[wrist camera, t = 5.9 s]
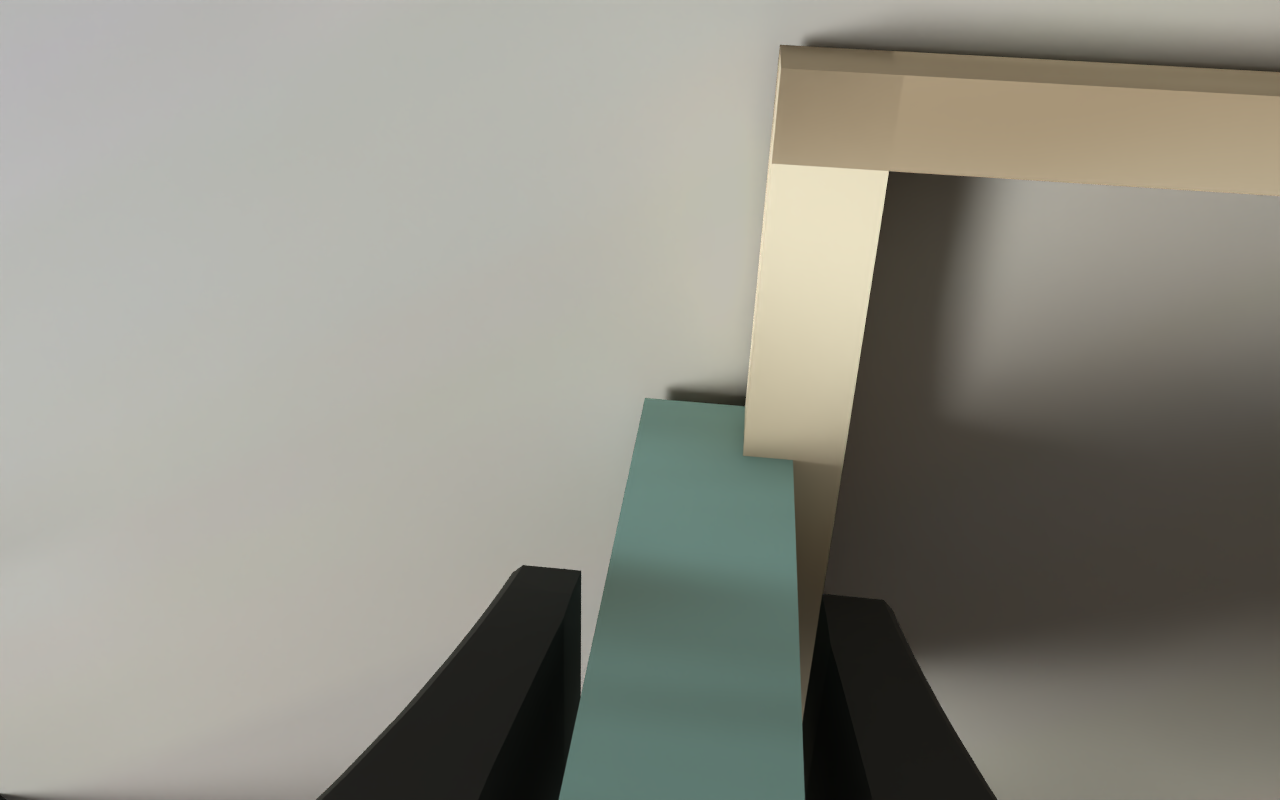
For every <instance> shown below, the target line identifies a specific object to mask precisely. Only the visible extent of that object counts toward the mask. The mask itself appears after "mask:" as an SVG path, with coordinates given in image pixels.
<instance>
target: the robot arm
mask: <svg viewBox="0 0 1280 800" xmlns="http://www.w3.org/2000/svg"><path fill="white" fill-rule="evenodd" d="M580 698H581V571H578V570H567V569H557V568H547V567H536V566H526V565H523V566H521V567H520V568H519V569H517V570H516V571H515V572H513V573H512V574H511V576H510V577H509V579H508V580H507V582H506V583H505V585H504V586H503V588H502V589H501V590H500V592H499V593H498V594H497V596H496V597H495V599H494V600H493V601H492V603H491V604H490V605H489V607H488V608H487V609H486V611H485V612H484V613H483V615H482V616H481V617H480V619H479V620H478V621H477V623H476V624H475V625H474V626H473V628H472V629H471V630H470V632H469V633H468V634H467V635H466V637H465V638H464V639H463V640H462V642H461V643H460V644H459V645H458V647H457V648H456V649H455V650H454V652H453V653H452V654H451V655H450V656H449V658H448V659H447V660H446V661H445V662H444V664H443V665H442V666H441V667H440V668H439V669H438V671H437V672H436V673H435V674H434V675H433V676H432V677H431V679H430V680H429V681H428V682H427V683H426V684H425V686H424V687H423V688H422V689H421V690H420V691H419V693H418V694H417V695H416V696H415V697H414V698H413V700H412V701H411V702H410V703H409V704H408V705H407V707H406V708H405V709H404V710H403V711H402V712H401V713H400V714H399V715H398V716H397V718H396V719H395V720H394V721H393V722H392V723H391V724H390V725H389V726H388V727H387V728H386V729H385V730H384V731H383V732H382V733H381V734H380V735H379V736H378V738H377V739H376V740H375V741H374V742H373V743H372V744H371V745H370V746H369V747H368V748H367V749H366V750H365V751H364V752H363V753H362V754H361V755H360V756H359V757H358V758H357V759H356V760H355V761H354V763H353V764H352V765H351V766H350V767H349V768H348V769H347V770H346V771H345V772H344V773H343V774H342V775H341V776H340V777H339V778H338V779H337V780H336V781H335V782H334V783H333V784H332V785H331V786H330V787H329V788H328V789H327V790H326V791H325V792H324V793H323V794H321V795H320V796H319V797H318V798H317V799H316V800H559V796H560V791H561V787H562V782H563V777H564V773H565V768H566V763H567V759H568V754H569V749H570V745H571V740H572V735H573V731H574V726H575V722H576V717H577V712H578V708H579V703H580ZM802 733H803V761H804V790H805V800H997V798H996V797H995V795H994V794H993V792H992V791H991V789H990V788H989V786H988V784H987V783H986V781H985V779H984V778H983V776H982V774H981V773H980V771H979V770H978V768H977V766H976V765H975V763H974V761H973V760H972V758H971V756H970V755H969V753H968V751H967V750H966V748H965V747H964V745H963V743H962V742H961V740H960V738H959V737H958V735H957V733H956V732H955V730H954V728H953V727H952V725H951V723H950V721H949V720H948V718H947V716H946V714H945V713H944V711H943V709H942V707H941V706H940V704H939V702H938V700H937V698H936V696H935V694H934V693H933V691H932V689H931V687H930V685H929V683H928V682H927V680H926V678H925V676H924V674H923V672H922V670H921V668H920V666H919V665H918V663H917V661H916V659H915V657H914V655H913V653H912V651H911V649H910V647H909V645H908V643H907V641H906V638H905V636H904V634H903V632H902V630H901V628H900V626H899V624H898V621H897V619H896V617H895V615H894V612H893V610H892V609H891V608H890V607H889V606H888V605H887V603H886V602H885V601H884V600H878V599H867V598H857V597H847V596H836V595H826V594H822V599H821V605H820V612H819V618H818V624H817V631H816V637H815V644H814V650H813V656H812V663H811V669H810V676H809V682H808V688H807V695H806V701H805V708H804V714H803V720H802Z"/></svg>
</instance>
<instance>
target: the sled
mask: <svg viewBox="0 0 1280 800" xmlns="http://www.w3.org/2000/svg"><path fill="white" fill-rule="evenodd" d="M889 171H895V172H910V173H926V174H942V175H957V176H973V177H989V178H1004V179H1020V180H1036V181H1051V182H1067V183H1082V184H1098V185H1114V186H1129V187H1145V188H1161V189H1176V190H1192V191H1208V192H1223V193H1239V194H1254V195H1270V196H1280V72H1266V71H1248V70H1229V69H1211V68H1193V67H1175V66H1156V65H1138V64H1120V63H1102V62H1083V61H1065V60H1047V59H1029V58H1010V57H992V56H974V55H956V54H937V53H919V52H901V51H883V50H864V49H846V48H828V47H810V46H791V45H780V50H779V61H778V71H777V81H776V92H775V102H774V112H773V123H772V133H771V144H770V154H769V164H768V175H767V185H766V195H765V206H764V216H763V227H762V237H761V247H760V258H759V268H758V278H757V289H756V299H755V310H754V320H753V330H752V341H751V351H750V361H749V372H748V382H747V393H746V403H745V406H734V405H722V404H710V403H698V402H686V401H674V400H662V399H650V398H645V401H644V405H643V410H642V415H641V419H640V424H639V429H638V433H637V438H636V443H635V447H634V452H633V457H632V461H631V466H630V470H629V475H628V480H627V484H626V489H625V494H624V498H623V503H622V508H621V512H620V517H619V522H618V526H617V531H616V536H615V540H614V545H613V550H612V554H611V559H610V563H609V568H608V573H607V577H606V582H605V587H604V591H603V596H602V601H601V605H600V610H599V615H598V619H597V624H596V629H595V633H594V638H593V642H592V647H591V652H590V656H589V661H588V666H587V670H586V675H585V680H584V684H583V689H582V694H581V698H580V703H579V708H578V712H577V717H576V722H575V726H574V731H573V735H572V740H571V745H570V749H569V754H568V759H567V763H566V768H565V773H564V777H563V782H562V787H561V791H560V796H559V800H805V790H804V761H803V733H802V720H803V714H804V708H805V701H806V695H807V688H808V682H809V676H810V669H811V663H812V656H813V650H814V644H815V637H816V631H817V624H818V618H819V612H820V605H821V599H822V594H823V590H824V584H825V577H826V571H827V565H828V558H829V552H830V545H831V539H832V533H833V526H834V520H835V513H836V507H837V501H838V494H839V488H840V482H841V475H842V469H843V462H844V456H845V450H846V443H847V437H848V430H849V424H850V418H851V411H852V405H853V398H854V392H855V386H856V379H857V373H858V367H859V360H860V354H861V347H862V341H863V335H864V328H865V322H866V315H867V309H868V303H869V296H870V290H871V284H872V277H873V271H874V264H875V258H876V252H877V245H878V239H879V232H880V226H881V220H882V213H883V207H884V200H885V194H886V188H887V181H888V175H889Z"/></svg>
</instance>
